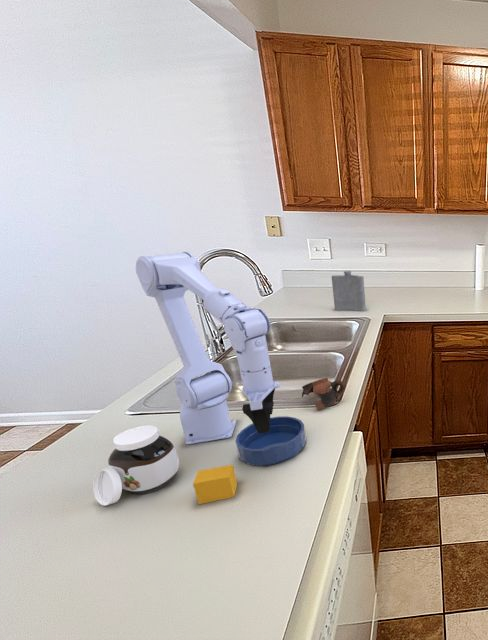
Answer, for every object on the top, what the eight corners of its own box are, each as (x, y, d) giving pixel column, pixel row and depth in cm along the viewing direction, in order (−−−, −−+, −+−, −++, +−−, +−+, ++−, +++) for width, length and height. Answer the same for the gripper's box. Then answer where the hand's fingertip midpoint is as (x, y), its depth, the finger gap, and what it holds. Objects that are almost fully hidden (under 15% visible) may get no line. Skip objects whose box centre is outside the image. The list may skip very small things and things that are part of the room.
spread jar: (188, 470, 86) (175, 424, 82) (149, 509, 75) (132, 458, 71) (131, 470, 85) (115, 423, 81) (83, 509, 75) (62, 458, 71)
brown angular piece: (306, 415, 109) (295, 387, 109) (312, 413, 118) (302, 387, 118) (349, 398, 112) (339, 371, 112) (351, 397, 121) (342, 372, 121)
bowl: (234, 473, 85) (230, 456, 84) (244, 437, 97) (241, 422, 96) (306, 459, 90) (303, 443, 89) (306, 427, 103) (304, 412, 101)
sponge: (198, 504, 77) (192, 483, 75) (203, 491, 80) (198, 470, 78) (234, 497, 79) (229, 476, 77) (237, 484, 82) (232, 464, 80)
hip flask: (334, 310, 204) (329, 271, 197) (336, 308, 207) (332, 270, 200) (365, 311, 204) (362, 272, 197) (367, 308, 208) (364, 270, 201)
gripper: (274, 378, 78) (284, 436, 83) (278, 352, 91) (287, 404, 95) (232, 383, 76) (245, 443, 80) (243, 356, 88) (253, 409, 93)
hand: (265, 422), depth 88 cm, fingers open, 7 cm apart
